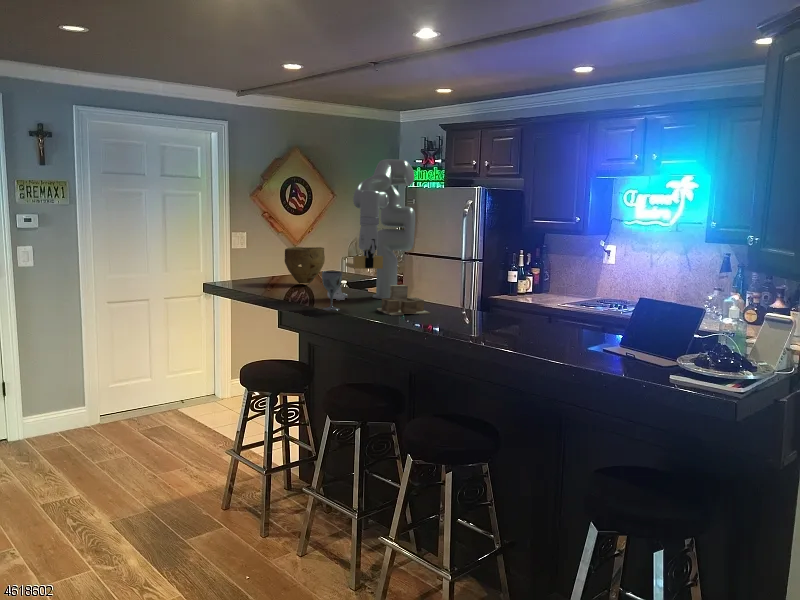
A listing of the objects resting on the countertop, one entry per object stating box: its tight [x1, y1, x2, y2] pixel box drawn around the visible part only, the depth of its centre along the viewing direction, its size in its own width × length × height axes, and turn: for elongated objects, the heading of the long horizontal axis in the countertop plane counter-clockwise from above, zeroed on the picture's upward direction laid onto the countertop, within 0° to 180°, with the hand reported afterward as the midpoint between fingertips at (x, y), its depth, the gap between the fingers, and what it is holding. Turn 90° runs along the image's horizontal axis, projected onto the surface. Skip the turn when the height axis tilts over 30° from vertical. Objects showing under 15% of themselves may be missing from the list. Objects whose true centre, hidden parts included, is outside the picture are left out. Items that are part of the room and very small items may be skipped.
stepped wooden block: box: [376, 284, 431, 316], centre depth 260 cm, size 15×17×10 cm
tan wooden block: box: [345, 255, 383, 270], centre depth 266 cm, size 11×12×5 cm
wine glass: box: [321, 270, 343, 311], centre depth 261 cm, size 8×8×15 cm
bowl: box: [284, 246, 325, 284], centre depth 337 cm, size 21×20×20 cm
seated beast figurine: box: [326, 286, 348, 301], centre depth 291 cm, size 10×9×12 cm
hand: (368, 267), depth 261 cm, fingers closed on tan wooden block, 1 cm apart
